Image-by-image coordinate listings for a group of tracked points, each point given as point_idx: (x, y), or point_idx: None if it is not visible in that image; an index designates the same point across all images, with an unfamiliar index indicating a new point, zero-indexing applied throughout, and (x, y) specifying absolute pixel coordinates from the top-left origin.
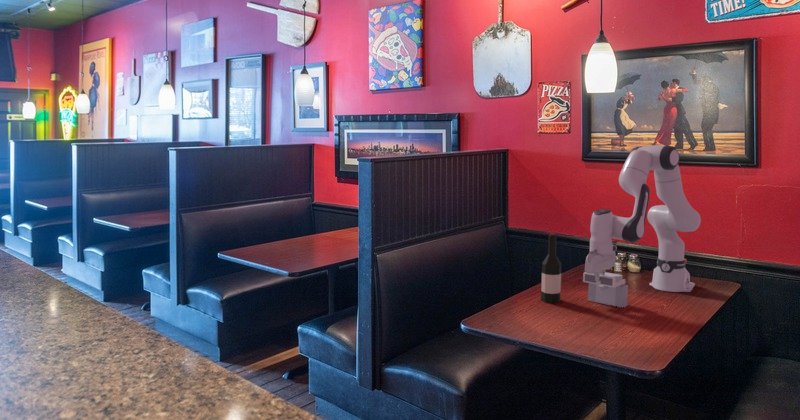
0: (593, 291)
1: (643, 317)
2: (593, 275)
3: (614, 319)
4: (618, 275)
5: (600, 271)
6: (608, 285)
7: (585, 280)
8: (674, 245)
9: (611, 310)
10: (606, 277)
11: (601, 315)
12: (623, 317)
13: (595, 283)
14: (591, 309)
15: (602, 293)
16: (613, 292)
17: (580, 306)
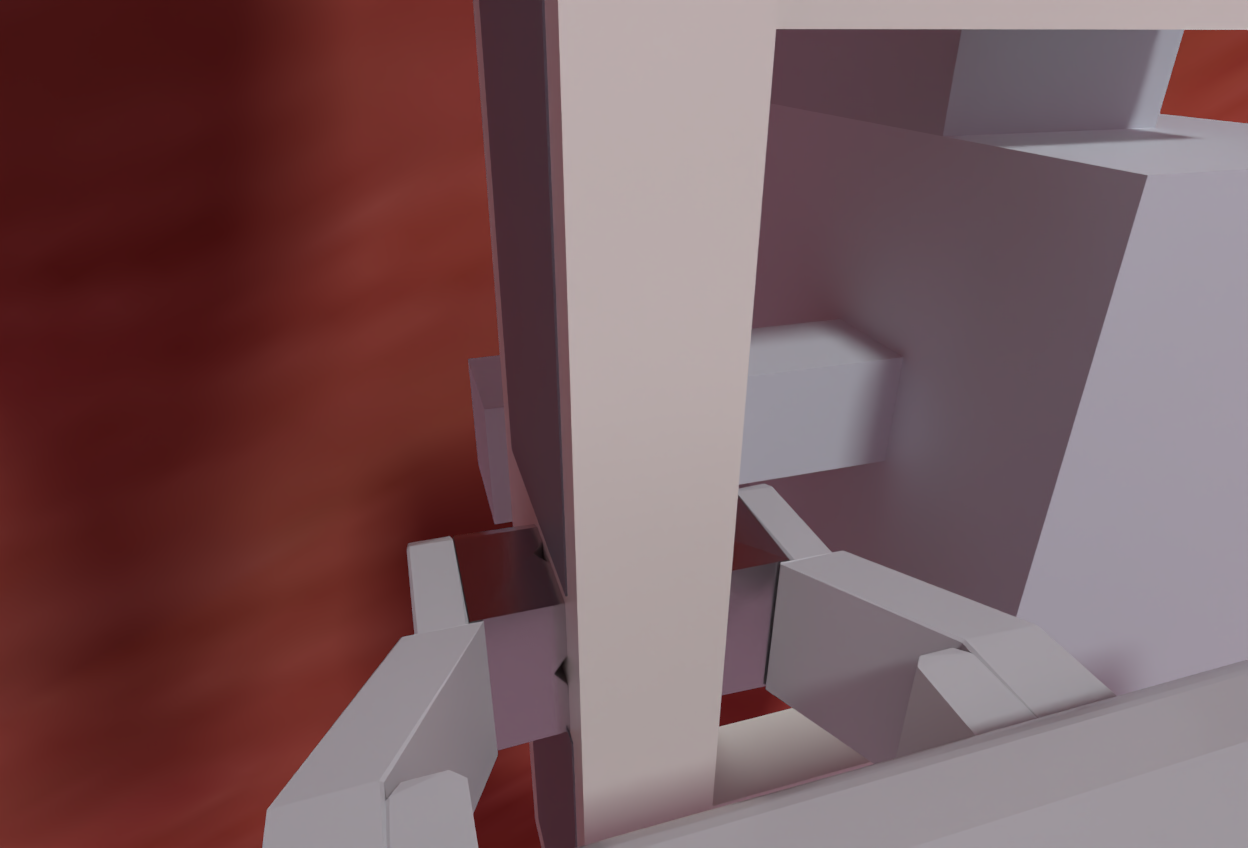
0: (805, 49)
1: (501, 811)
2: (562, 480)
3: (125, 738)
4: (1198, 651)
5: (942, 647)
6: (530, 748)
7: (481, 26)
8: None
9: (474, 496)
10: None
11: (114, 557)
12: (314, 734)
13: (507, 423)
14: (260, 281)
15: (781, 264)
16: (789, 491)
17: (245, 17)
